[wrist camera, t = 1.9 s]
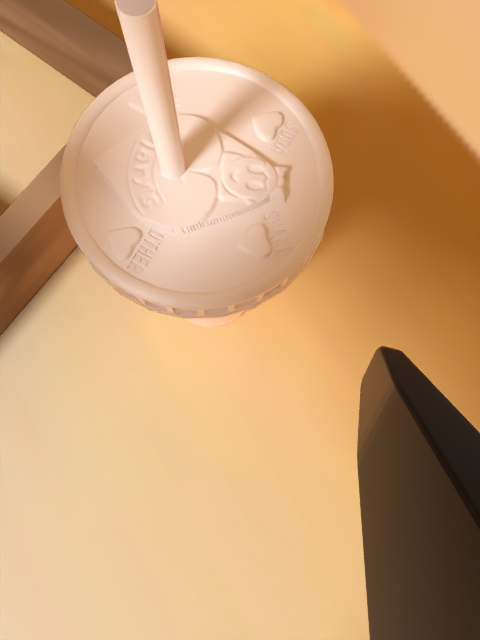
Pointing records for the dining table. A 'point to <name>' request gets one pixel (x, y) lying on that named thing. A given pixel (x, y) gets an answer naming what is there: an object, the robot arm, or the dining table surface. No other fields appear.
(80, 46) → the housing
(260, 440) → the dining table surface
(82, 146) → the smoothie
